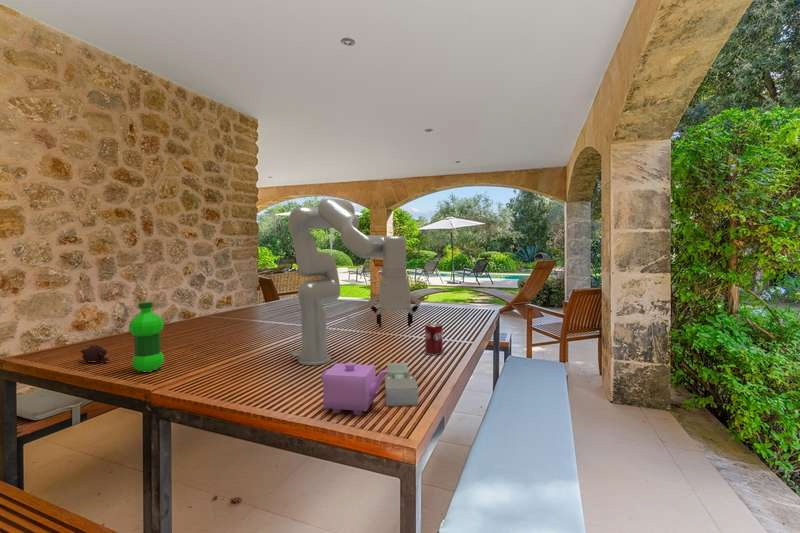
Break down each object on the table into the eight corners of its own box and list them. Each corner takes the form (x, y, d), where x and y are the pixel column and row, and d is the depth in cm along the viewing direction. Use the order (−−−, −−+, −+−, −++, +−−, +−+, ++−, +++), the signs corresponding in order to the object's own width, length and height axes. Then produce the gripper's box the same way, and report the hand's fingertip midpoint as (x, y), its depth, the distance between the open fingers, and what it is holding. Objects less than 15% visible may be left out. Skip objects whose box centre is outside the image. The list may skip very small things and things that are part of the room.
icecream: (68, 347, 150) (94, 354, 145) (88, 338, 157) (114, 344, 152) (73, 363, 152) (99, 370, 147) (92, 353, 159) (118, 359, 154)
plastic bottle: (157, 364, 148) (154, 300, 147) (170, 369, 142) (167, 302, 141) (127, 371, 140) (123, 303, 138) (139, 377, 134) (136, 305, 132)
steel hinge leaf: (386, 406, 108) (386, 388, 108) (384, 389, 120) (384, 373, 120) (418, 405, 109) (418, 387, 108) (413, 388, 121) (413, 373, 121)
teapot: (314, 413, 104) (313, 367, 103) (328, 398, 114) (327, 356, 113) (387, 418, 100) (386, 371, 100) (394, 403, 110) (394, 359, 110)
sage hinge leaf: (389, 394, 117) (389, 377, 117) (387, 377, 131) (387, 363, 131) (410, 393, 117) (410, 377, 117) (406, 377, 132) (406, 362, 131)
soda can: (444, 351, 162) (444, 323, 162) (440, 356, 156) (440, 326, 155) (427, 350, 165) (427, 322, 164) (423, 354, 158) (422, 325, 157)
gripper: (367, 275, 121) (367, 328, 122) (422, 274, 122) (422, 328, 123) (368, 273, 129) (368, 323, 130) (419, 273, 130) (419, 323, 131)
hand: (394, 325), depth 127 cm, fingers open, 9 cm apart
